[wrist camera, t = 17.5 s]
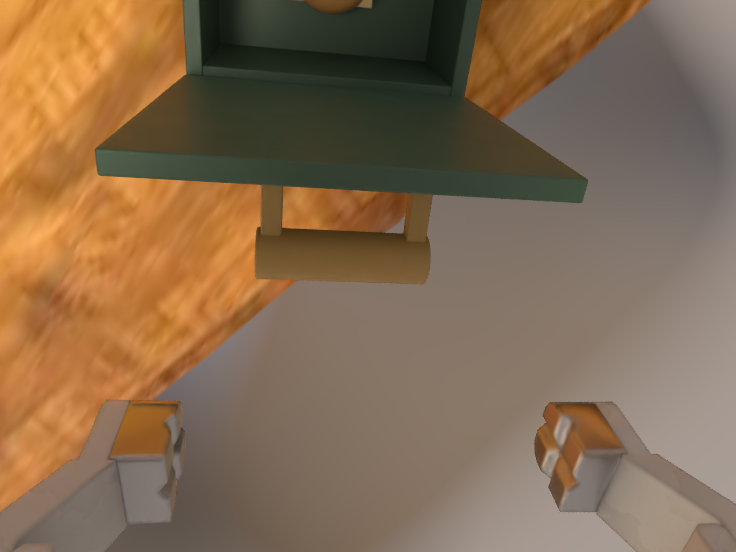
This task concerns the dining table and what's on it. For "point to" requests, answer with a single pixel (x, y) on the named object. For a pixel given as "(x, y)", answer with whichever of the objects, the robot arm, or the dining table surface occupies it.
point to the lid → (334, 163)
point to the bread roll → (337, 5)
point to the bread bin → (335, 43)
